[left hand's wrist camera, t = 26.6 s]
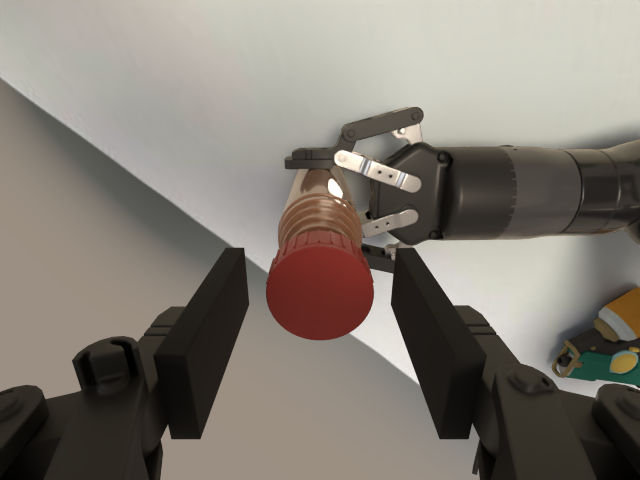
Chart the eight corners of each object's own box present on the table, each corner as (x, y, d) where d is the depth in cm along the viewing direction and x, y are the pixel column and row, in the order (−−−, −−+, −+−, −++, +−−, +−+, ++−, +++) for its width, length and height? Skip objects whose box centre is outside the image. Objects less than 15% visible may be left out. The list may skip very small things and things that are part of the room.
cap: (295, 211, 14) (291, 226, 12) (387, 253, 14) (396, 272, 13) (255, 295, 15) (247, 318, 13) (341, 329, 16) (344, 355, 14)
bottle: (346, 157, 33) (387, 233, 13) (341, 204, 35) (371, 337, 15) (297, 154, 33) (260, 225, 13) (295, 201, 35) (260, 331, 14)
